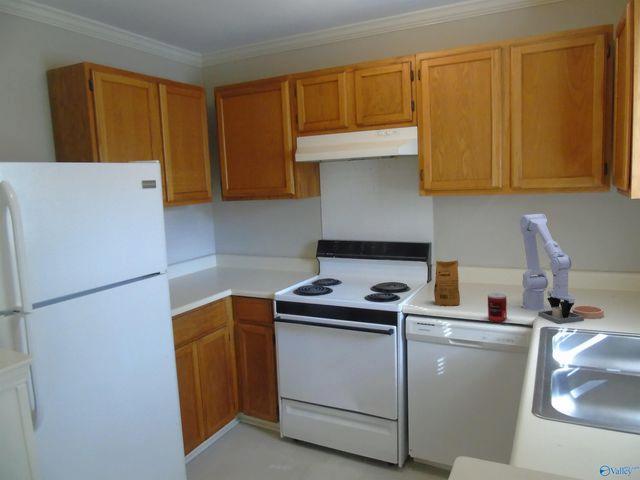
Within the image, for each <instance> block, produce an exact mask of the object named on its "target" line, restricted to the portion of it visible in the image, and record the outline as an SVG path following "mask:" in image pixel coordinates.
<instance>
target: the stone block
mask: <svg viewBox="0 0 640 480" xmlns="http://www.w3.org/2000/svg"><path fill="white" fill-rule="evenodd" d="M551 310H552V317H555V318H557V319H563V316H562V308H561V305H559V307H552V308H551ZM568 318H569V316H568Z"/></svg>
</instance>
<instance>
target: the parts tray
mask: <svg viewBox="0 0 640 480" xmlns="http://www.w3.org/2000/svg"><path fill="white" fill-rule="evenodd" d="M537 315H538V317H541V318H543V319H545V320H548V321H550V322H552V323H554V324H557V325H563V324H569V323H578V322H585V318H584V316H581V315H578V314H576V313H573V312H572V311H570V313H569V318H563V319H557V318H555V317H552V309H551V310H549V309H548V310H540V311H538V314H537Z"/></svg>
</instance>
